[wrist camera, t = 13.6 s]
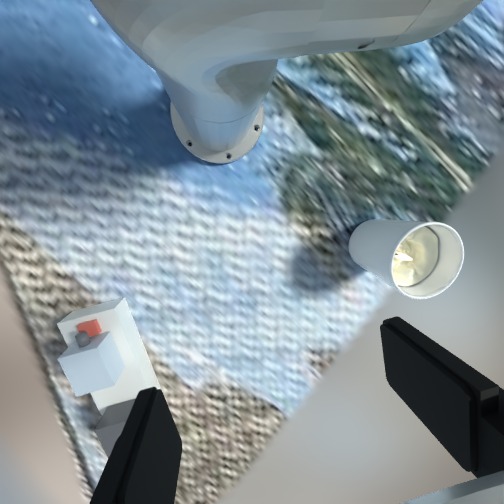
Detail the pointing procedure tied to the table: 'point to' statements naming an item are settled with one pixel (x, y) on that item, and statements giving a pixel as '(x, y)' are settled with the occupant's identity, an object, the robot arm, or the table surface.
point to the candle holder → (409, 254)
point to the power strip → (127, 341)
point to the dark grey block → (113, 424)
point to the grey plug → (92, 363)
